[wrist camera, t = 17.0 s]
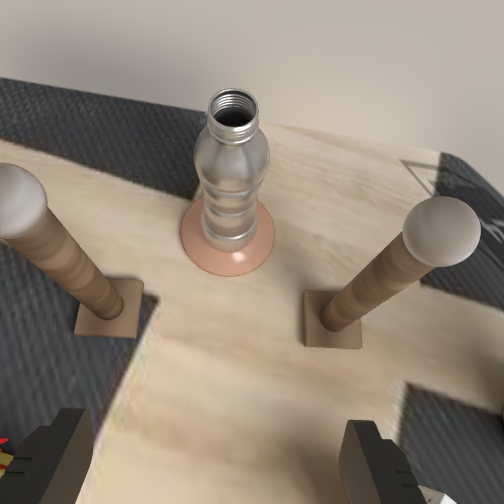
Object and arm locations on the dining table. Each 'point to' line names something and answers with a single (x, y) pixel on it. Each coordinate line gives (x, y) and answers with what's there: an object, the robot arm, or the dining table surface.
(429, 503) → the supplement box
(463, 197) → the dining table surface
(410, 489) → the robot arm
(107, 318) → the post gate
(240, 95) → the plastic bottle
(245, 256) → the terracotta coaster
